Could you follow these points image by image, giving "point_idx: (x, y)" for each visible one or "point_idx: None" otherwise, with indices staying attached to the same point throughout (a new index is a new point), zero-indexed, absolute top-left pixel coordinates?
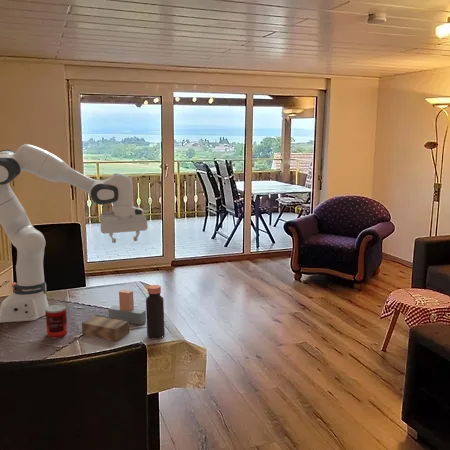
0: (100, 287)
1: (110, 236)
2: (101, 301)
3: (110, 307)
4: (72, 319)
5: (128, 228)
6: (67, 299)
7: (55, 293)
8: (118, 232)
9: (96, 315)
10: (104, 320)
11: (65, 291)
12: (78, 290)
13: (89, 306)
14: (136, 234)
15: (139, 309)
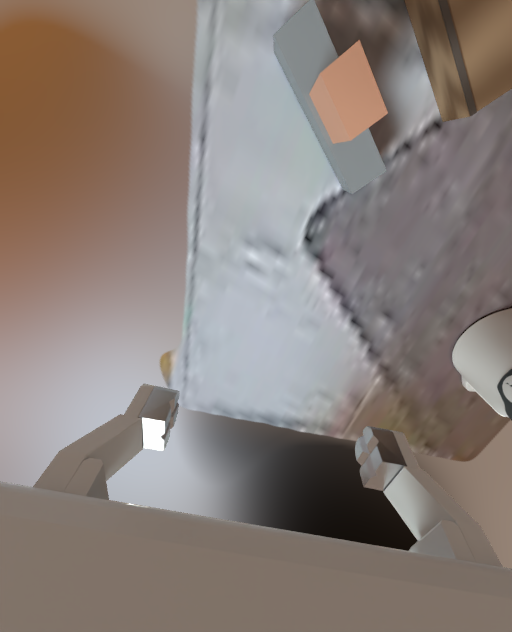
0: (272, 415)
1: (464, 510)
2: (314, 331)
3: (374, 177)
4: (456, 242)
5: (210, 596)
6: (377, 386)
7: None
8: (385, 547)
9: (474, 106)
10: (492, 5)
11: (352, 430)
12: (325, 422)
13: (359, 314)
14: (115, 463)
15: (291, 70)
